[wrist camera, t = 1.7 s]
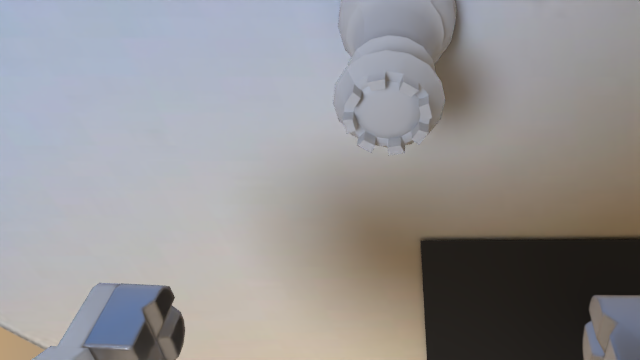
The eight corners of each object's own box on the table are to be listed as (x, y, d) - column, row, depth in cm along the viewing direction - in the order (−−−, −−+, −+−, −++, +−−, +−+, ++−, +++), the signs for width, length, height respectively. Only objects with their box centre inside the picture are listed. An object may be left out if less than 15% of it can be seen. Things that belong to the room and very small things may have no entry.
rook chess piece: (317, 13, 23) (277, 120, 17) (395, -77, 21) (381, 10, 14) (399, 81, 25) (390, 204, 18) (481, 5, 22) (503, 117, 16)
